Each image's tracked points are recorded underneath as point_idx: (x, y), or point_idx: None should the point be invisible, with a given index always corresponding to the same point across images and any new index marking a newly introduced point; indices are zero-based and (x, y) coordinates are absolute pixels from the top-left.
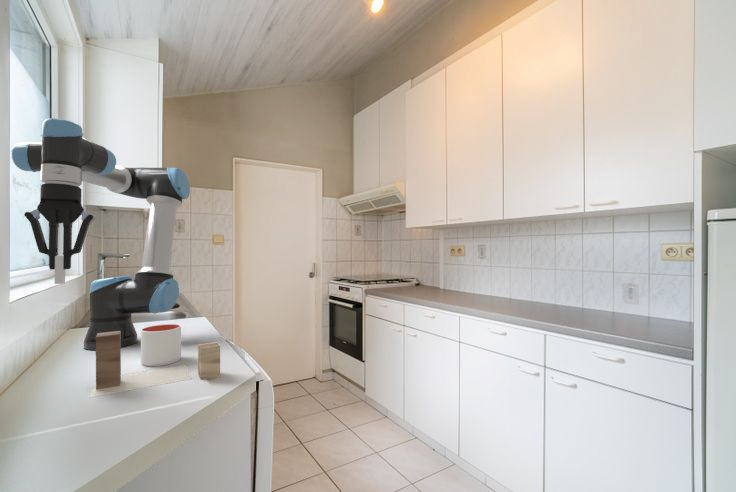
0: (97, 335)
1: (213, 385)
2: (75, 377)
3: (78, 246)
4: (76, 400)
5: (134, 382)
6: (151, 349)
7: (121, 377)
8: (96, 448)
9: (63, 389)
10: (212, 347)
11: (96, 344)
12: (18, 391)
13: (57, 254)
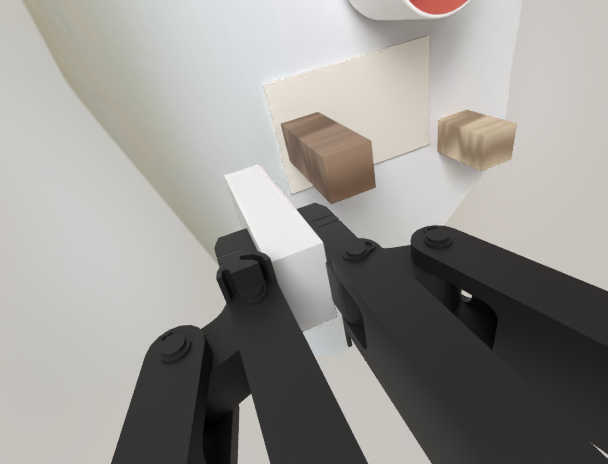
0: (330, 187)
1: (449, 176)
2: (195, 24)
3: (475, 329)
4: None
5: None
6: (387, 16)
7: (314, 90)
8: (341, 316)
9: (215, 123)
10: (498, 163)
11: (324, 195)
12: (110, 104)
13: (273, 278)
